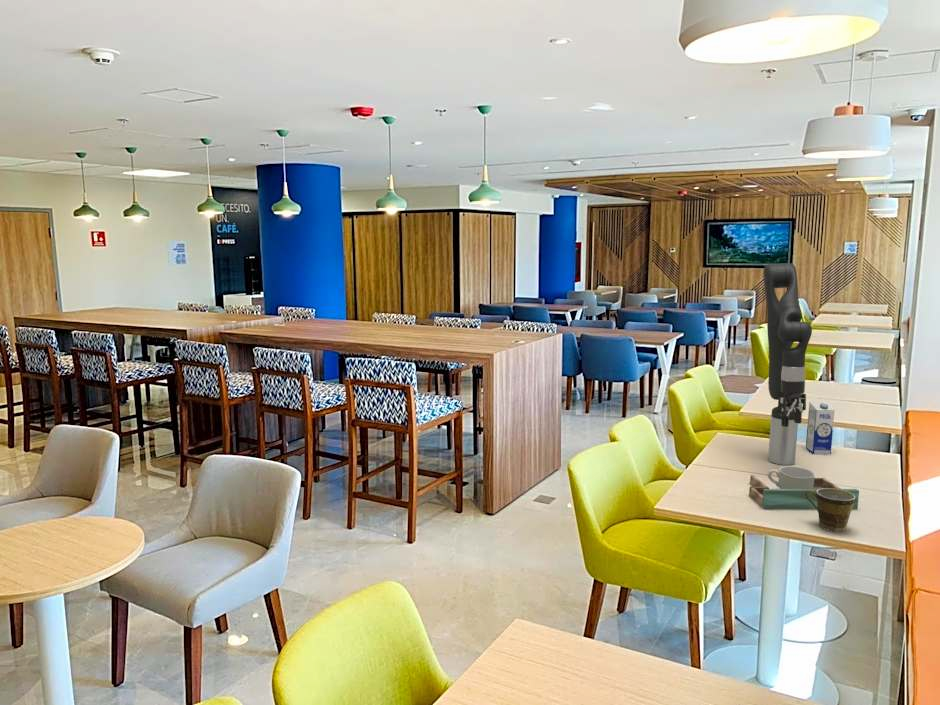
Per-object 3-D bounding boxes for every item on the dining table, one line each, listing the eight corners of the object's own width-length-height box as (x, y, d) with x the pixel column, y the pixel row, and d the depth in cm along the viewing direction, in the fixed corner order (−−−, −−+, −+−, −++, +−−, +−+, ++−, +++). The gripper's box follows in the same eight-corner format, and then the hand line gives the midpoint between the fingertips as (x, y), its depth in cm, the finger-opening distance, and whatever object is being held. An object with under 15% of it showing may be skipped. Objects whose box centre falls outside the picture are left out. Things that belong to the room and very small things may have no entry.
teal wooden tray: (735, 483, 234) (736, 466, 233) (819, 483, 234) (821, 467, 234) (764, 509, 212) (765, 490, 211) (857, 509, 212) (859, 490, 211)
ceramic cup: (856, 526, 199) (859, 493, 197) (847, 537, 191) (850, 503, 190) (808, 514, 207) (810, 483, 206) (798, 524, 200) (800, 492, 198)
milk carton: (822, 449, 274) (827, 401, 271) (831, 454, 267) (835, 405, 264) (804, 449, 274) (808, 401, 271) (812, 454, 267) (816, 404, 264)
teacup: (814, 492, 227) (816, 468, 225) (811, 502, 217) (813, 478, 216) (769, 484, 234) (770, 462, 232) (764, 494, 224) (766, 471, 223)
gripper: (793, 375, 244) (791, 420, 246) (771, 379, 236) (770, 425, 238) (814, 378, 238) (812, 423, 240) (792, 382, 230) (791, 429, 232)
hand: (791, 424), depth 239 cm, fingers open, 8 cm apart
